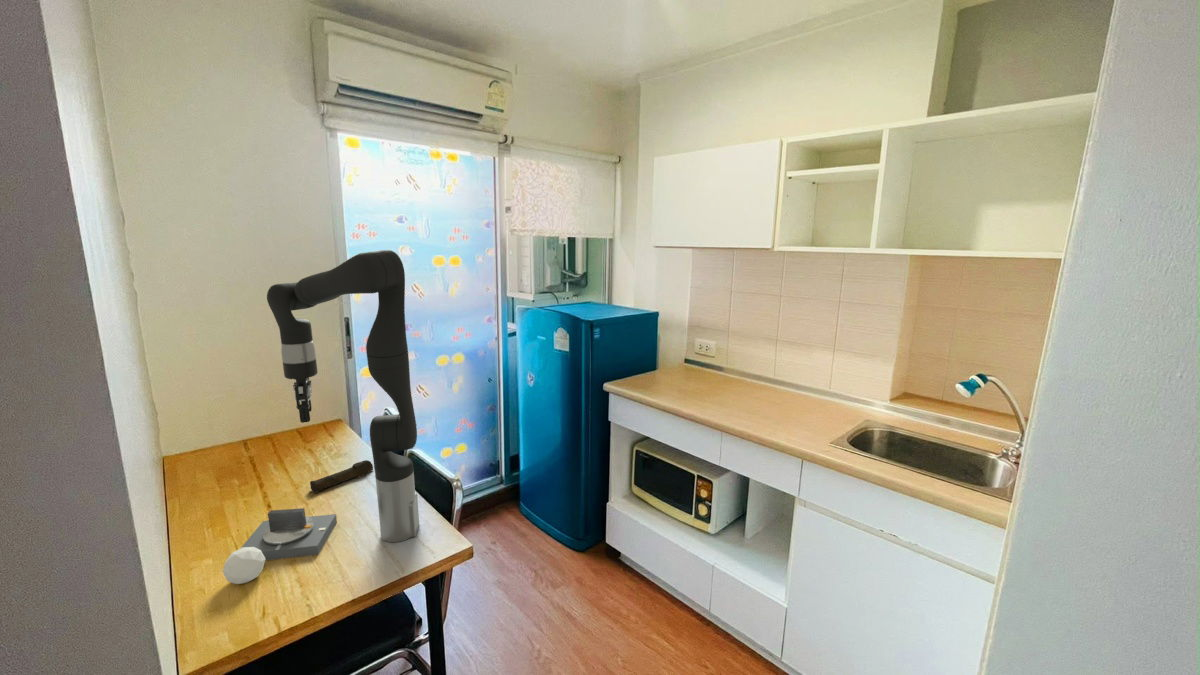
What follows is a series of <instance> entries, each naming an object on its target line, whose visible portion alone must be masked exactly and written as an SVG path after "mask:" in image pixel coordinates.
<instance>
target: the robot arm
mask: <svg viewBox="0 0 1200 675" xmlns="http://www.w3.org/2000/svg"><path fill="white" fill-rule="evenodd" d="M404 268H405V267H404V263H403V262H402V259H401V257H400V256H399V255H398V254H397V253H396V252H395V250H394V251H393V250H391V249H380V250H379V249H378V250H372V251H366V252H361V253H358V254H356V255H354V256H352V257H349V258H347V259H346V261H344V262H342V263H340V264H339V265H337V266H336V267H334V268H331V269H330V270H326V271H322V272H318V273H316V274H315V273H314V274H312V275H309V276H305V277H303V278H301V279H300V280H299V281H298V282H297V281H296V282H288V283H276V284H273V285H271V286H270V287H269V288H268V290H267V293H266V300H267V304H268V306H269V309H270V310H271V312H272V314H273V318H274V319H275V322H276V324H277V326H278V329H279V334H280V336H279V337H280V345H281V348H280V349H281V352H280V353H281V360H282V368H283V376H284V378H285V379H287V380H295V381H294V382H293V385H292V388H293V391H294V400H295V402H296V410H298V413H299V421H300V423H302V424H303V423H309V422H311V415H310V412H311V411H312V410H313V409H312V400H311V399H312V392H313V390H312V384H313V383H312V380H310V378H312V377H315V376H316V375H317V374H318V365H317V355H316V348H315V345H314V339H313V331H312V330H313V329H312V324H311V321H309V320H308V319H307V318H296V317H295V316H294V314H293V313H292V312H293V311H297V310H305V309H310V308H313V307H316V306H318V305H319V304H322V303H323V304H324V303H327V302H329V301H330V302H331V301H333V300H335V299H338V298H339V297H341V296H344V295H351V294H352V295H354V294H359V295H360V294H361V295H363V294H365V295H366V294H377V293H378V294H377V295H378V305H377V306H378V308H377V311H376V312H377V314H376V316H375V318H374V322H373V324H372V327H371V329H370V331H369V333H368V337H367V339H366V346H365V349H366V351H365V352H366V359H367V368H368V372H369V374H370V375H371V378H372V379H373V380H374V381H375V382H376V384H378V386H379V387H380V388H381V389H382V390H383V391H384V392H385V393H386V394H387V395H388V397H389V398H390V399H391V400H392V402H393V404H395V407H396V409H397V411H398V414H386V415H377V416H374V417H373V418H371V419H372V420H371V422H370V425H369V438H370V439H369V440H370V447H371V452H372V459H373V460H372V461H373V470H374V473H375V474H374V475H375V486H376V496H377V507H378V517H379V520H378V521H379V531H380V537H381V539H382V540H383V541H384V542H388V543H398V542H403V541H406V540H408V539H410V538H415V537H416V536H417V533H418V531H419V527H420V516H419V515H420V514H419V503H418V502H419V500H418V493H417V492H416V489H415V488H416V486H415V474H414V473H415V471H414V462H413V460H412V459H410V457H407V456H404V455H400V454H398V453H395V452H397V451H407V450H410V449H411V450H412V449H413V448H415V446H416V444H417V441H418V439H417V438H418V428H417V422H416V415H415V414H416V413H415V409H414V403H413V396H412V389H411V388H412V386H411V375H410V360H409V349H408V341H407V332H406V329H407V328H406V316H405V313H406V312H405V305H406V304H405V301H406V300H405V299H406V298H405V295H406V287H405V286H406V277H405V276H406V274H405V269H404Z"/></svg>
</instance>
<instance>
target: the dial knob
mask: <svg viewBox="0 0 1200 675" xmlns="http://www.w3.org/2000/svg"><path fill="white" fill-rule="evenodd" d="M309 517H310V516H307V515H306V510H305V508H304V507H303V508H301V507H300V508H289V509H288V508H287V509H273V510H270V511H268V513H267V518H268V520H269V527H268V528H267V529H266V530H265V531H264V533H263V540H264V542H265V543H266V544H269V545H283V544H288V543H292V542H294V541H297V540H299V539H301V538H303V537H305V536H306V535H307V534H309V533H310V532H311V531H312V529H313V527H314V524H313V520H312V519H311V518H309Z"/></svg>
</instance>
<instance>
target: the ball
mask: <svg viewBox="0 0 1200 675" xmlns="http://www.w3.org/2000/svg"><path fill="white" fill-rule="evenodd" d="M241 547H242V546H241ZM241 547H240V548H241ZM240 548H238V549H237V550H235V551H233V552H231V553H230V554H229V556H228V558H226V560H225V562H224V565H223V569H222V573H223V576H224V577H225V580H226V581H227V582H230V583H231V584H234V585H239V584H247V583H249V582H250V581H253V580H254V579H256V578H258V577H259V575H261V572H262V571H263V569H264V566H265V562H266V560H265V557H264V555H263V553H262V551H261V550H259V549H257V548H255V547H242V548H241V549H240Z"/></svg>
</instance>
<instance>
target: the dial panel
mask: <svg viewBox="0 0 1200 675" xmlns="http://www.w3.org/2000/svg"><path fill="white" fill-rule="evenodd" d="M308 517H309V518H311V519H312V520H313V524H314V527H313V529H312V531H311V532H310V533H309V534H307V535H306V536H305V537H303V538H301V539H299V540H297V541H294V542H292V543H288V544H283V545H269V544H266V543H265V542H264V540H263V533H264V531H265V530H266V529H267V528H268V527H269V519H268V520H263V521H262V522H261V523H260V524H259V526H258V527H257V528H256V529H255V530H254V532H253V533H252V534H251V535H250V536H249V538H248V539H247V540H246V541H245V542H244V544H243V545H242V546H241V547H240V548H239V549H241V548H242V547H255V548H257V549H259V550H261V551H262V553H263V555H264V557H265V561H273V560H280V559H289V558H299V557H308V556H318V555H320V552H322V550H323V547H324V545H325V544H326V542H327V540H328V538H330V535H331V533H332V531H333V530H334V528H335V526H336V525H337V523H338V521H337V514H336V513H332V514H324V515H322V514H321V515H315V516H314V515H313V516H308Z"/></svg>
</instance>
